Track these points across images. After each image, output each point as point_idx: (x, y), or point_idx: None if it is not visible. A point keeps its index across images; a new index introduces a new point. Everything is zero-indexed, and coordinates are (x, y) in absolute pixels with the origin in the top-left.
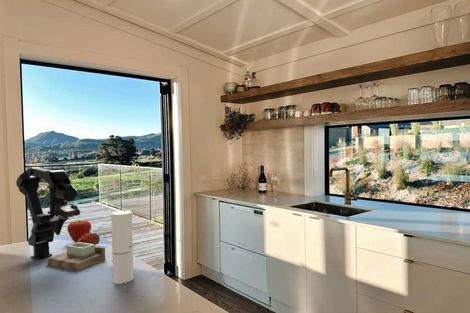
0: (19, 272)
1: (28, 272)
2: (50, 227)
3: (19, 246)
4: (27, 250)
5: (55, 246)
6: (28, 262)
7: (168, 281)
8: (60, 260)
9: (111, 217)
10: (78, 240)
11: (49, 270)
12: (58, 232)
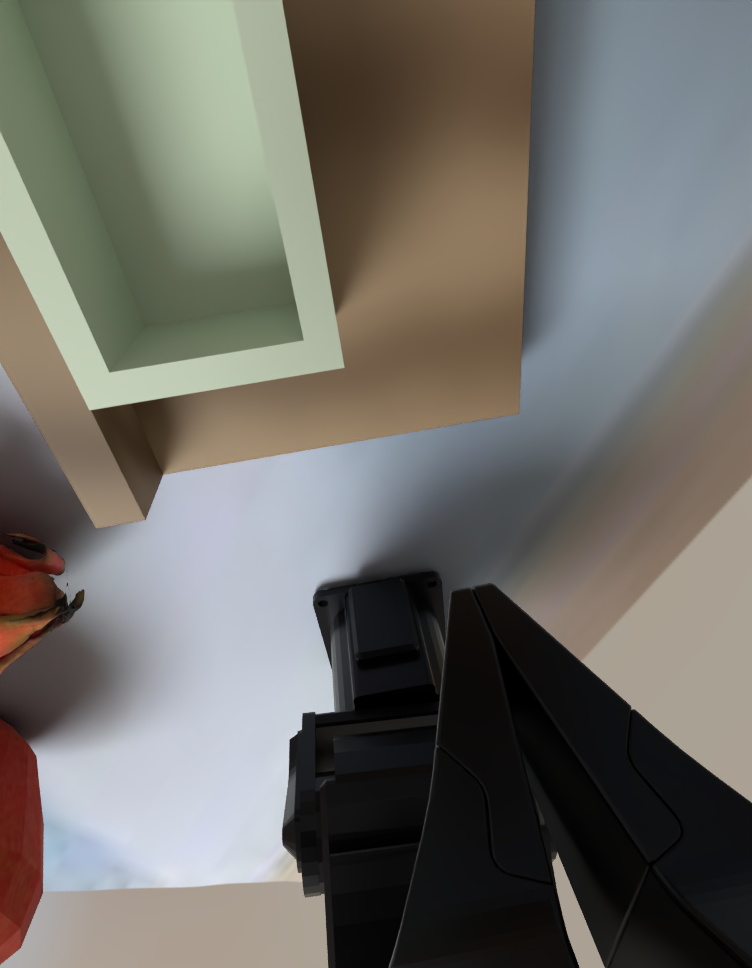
0: (716, 402)
1: (704, 329)
2: (365, 908)
3: None
4: None
5: (190, 750)
6: (511, 573)
7: None
8: (529, 141)
9: None
10: (21, 630)
11: (611, 172)
12: (502, 624)
